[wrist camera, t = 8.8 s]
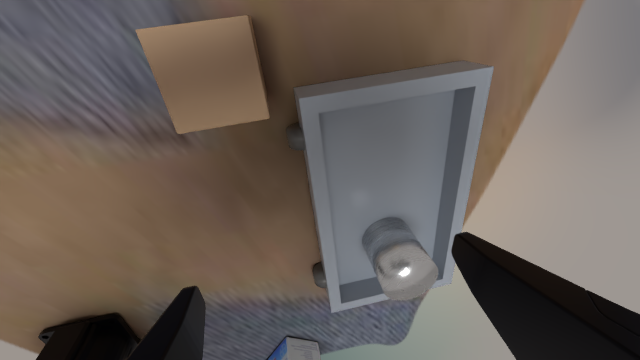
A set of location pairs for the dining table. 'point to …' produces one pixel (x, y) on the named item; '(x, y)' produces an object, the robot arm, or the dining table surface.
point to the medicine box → (296, 350)
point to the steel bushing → (398, 259)
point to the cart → (388, 165)
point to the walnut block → (207, 72)
